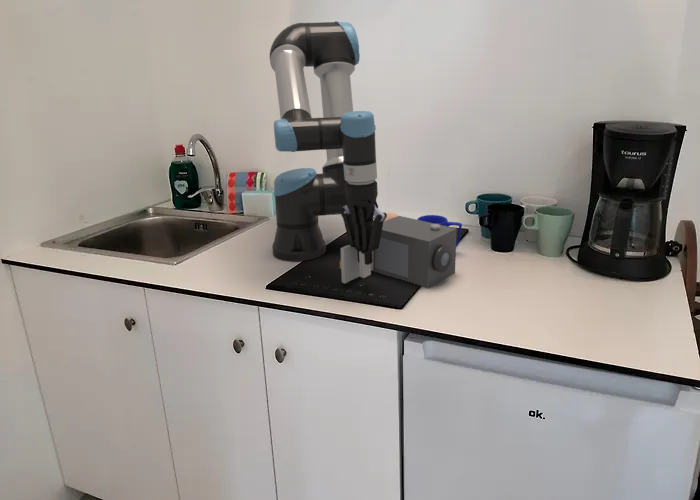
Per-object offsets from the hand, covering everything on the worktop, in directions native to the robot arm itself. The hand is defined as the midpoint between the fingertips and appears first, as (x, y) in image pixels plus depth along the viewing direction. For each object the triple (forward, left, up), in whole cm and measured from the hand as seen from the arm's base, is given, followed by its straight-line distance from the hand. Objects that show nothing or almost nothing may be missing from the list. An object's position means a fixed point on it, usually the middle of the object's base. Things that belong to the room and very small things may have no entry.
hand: (365, 275), depth 139 cm
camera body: (+4, +14, -3) cm, 15 cm away
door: (-4, +2, -2) cm, 5 cm away
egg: (-17, +32, -3) cm, 37 cm away
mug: (+2, +29, -3) cm, 29 cm away
